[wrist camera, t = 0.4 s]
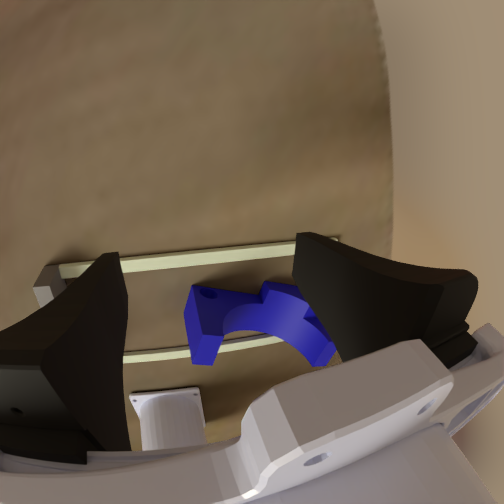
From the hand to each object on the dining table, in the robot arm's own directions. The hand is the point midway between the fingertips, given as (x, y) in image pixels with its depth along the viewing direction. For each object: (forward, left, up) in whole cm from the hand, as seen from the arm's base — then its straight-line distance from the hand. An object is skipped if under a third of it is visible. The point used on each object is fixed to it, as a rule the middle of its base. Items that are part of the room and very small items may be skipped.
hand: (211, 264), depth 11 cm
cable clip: (-10, -5, -10) cm, 15 cm away
